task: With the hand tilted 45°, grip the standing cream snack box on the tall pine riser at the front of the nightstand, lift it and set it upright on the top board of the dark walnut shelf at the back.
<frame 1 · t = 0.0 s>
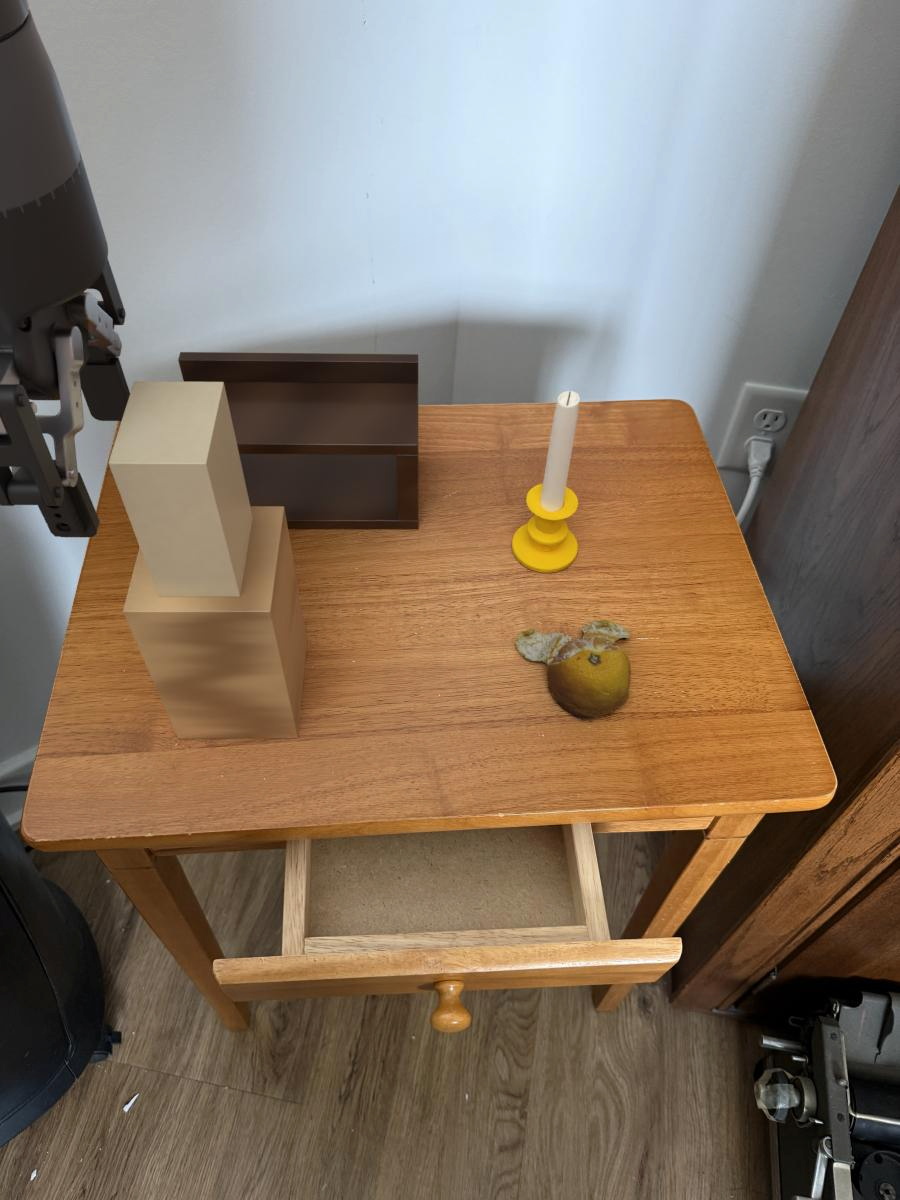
hand: (97, 471, 46), 20 cm above the table, tool pointing down, fingers open, 8 cm apart
fruit: (584, 665, 64), on the table
riser: (245, 688, 62), on the table
candle: (544, 550, 71), on the table
snack box: (207, 556, 51), point 14 cm above the table, touching riser
shelf: (309, 493, 74), on the table
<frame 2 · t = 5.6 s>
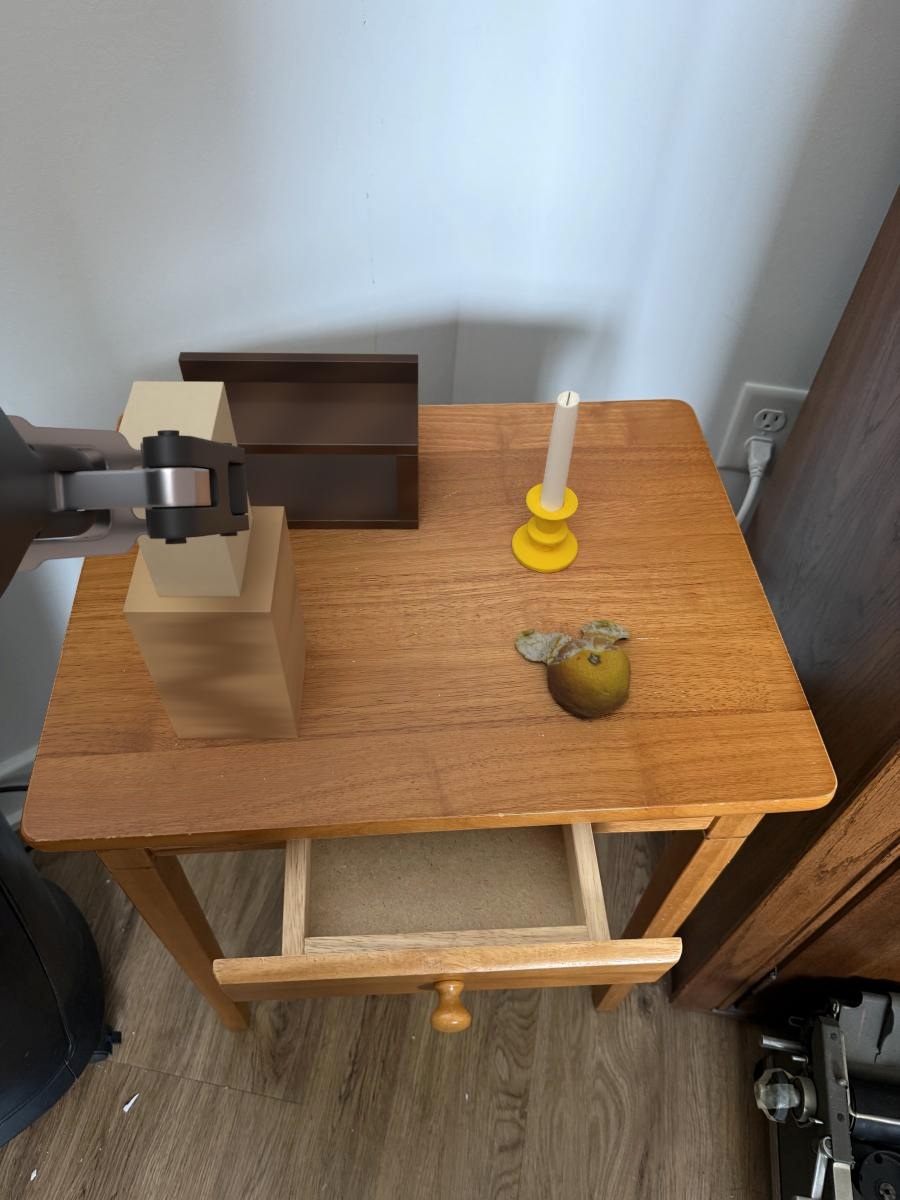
hand: (68, 498, 31), 30 cm above the table, tool tilted 45°, fingers open, 8 cm apart
nothing on the table moved.
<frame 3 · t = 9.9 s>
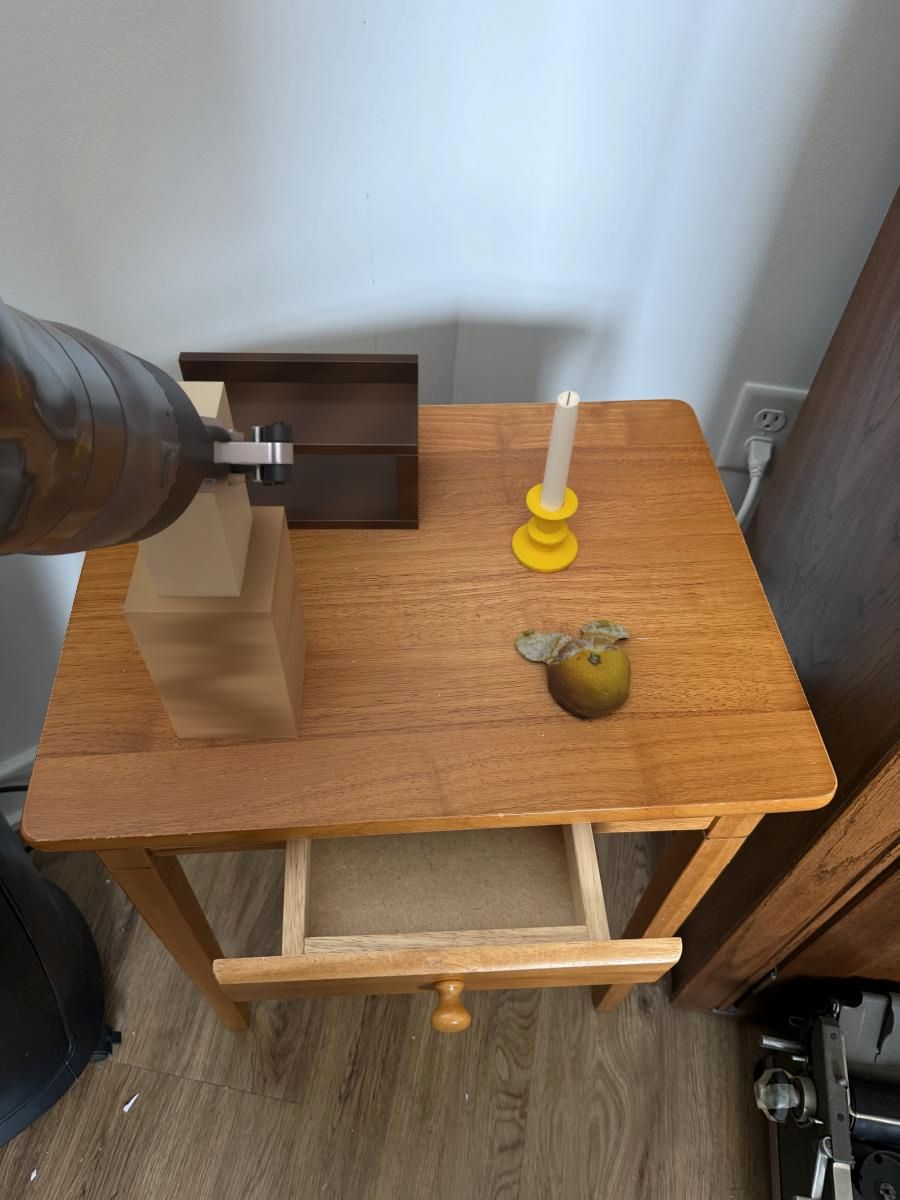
hand: (192, 460, 48), 20 cm above the table, tool tilted 45°, fingers closed on snack box, 4 cm apart
snack box: (207, 555, 51), point 14 cm above the table, touching gripper, riser
everything else where it was.
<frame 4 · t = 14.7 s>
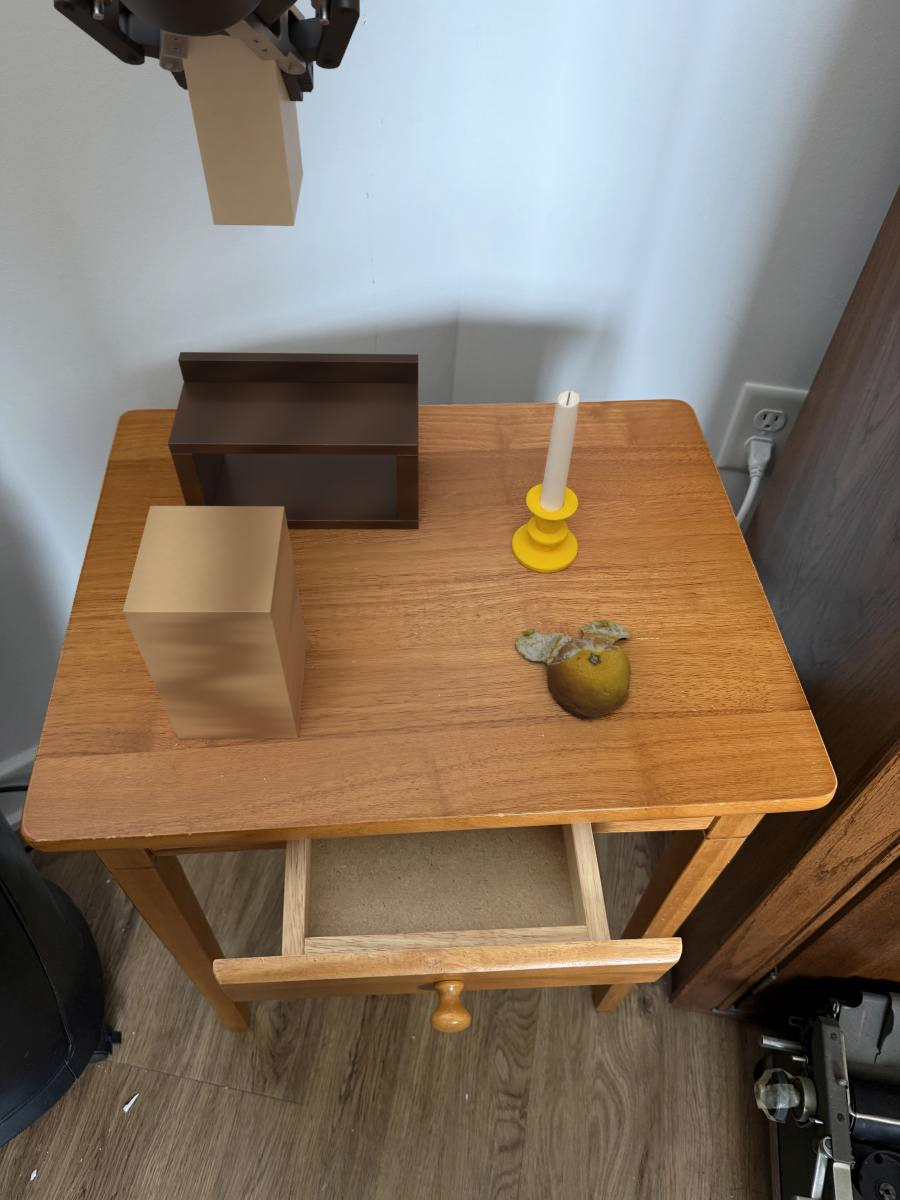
hand: (249, 81, 49), 32 cm above the table, tool tilted 45°, fingers closed on snack box, 4 cm apart
snack box: (260, 198, 52), point 26 cm above the table, touching gripper
everything else where it was.
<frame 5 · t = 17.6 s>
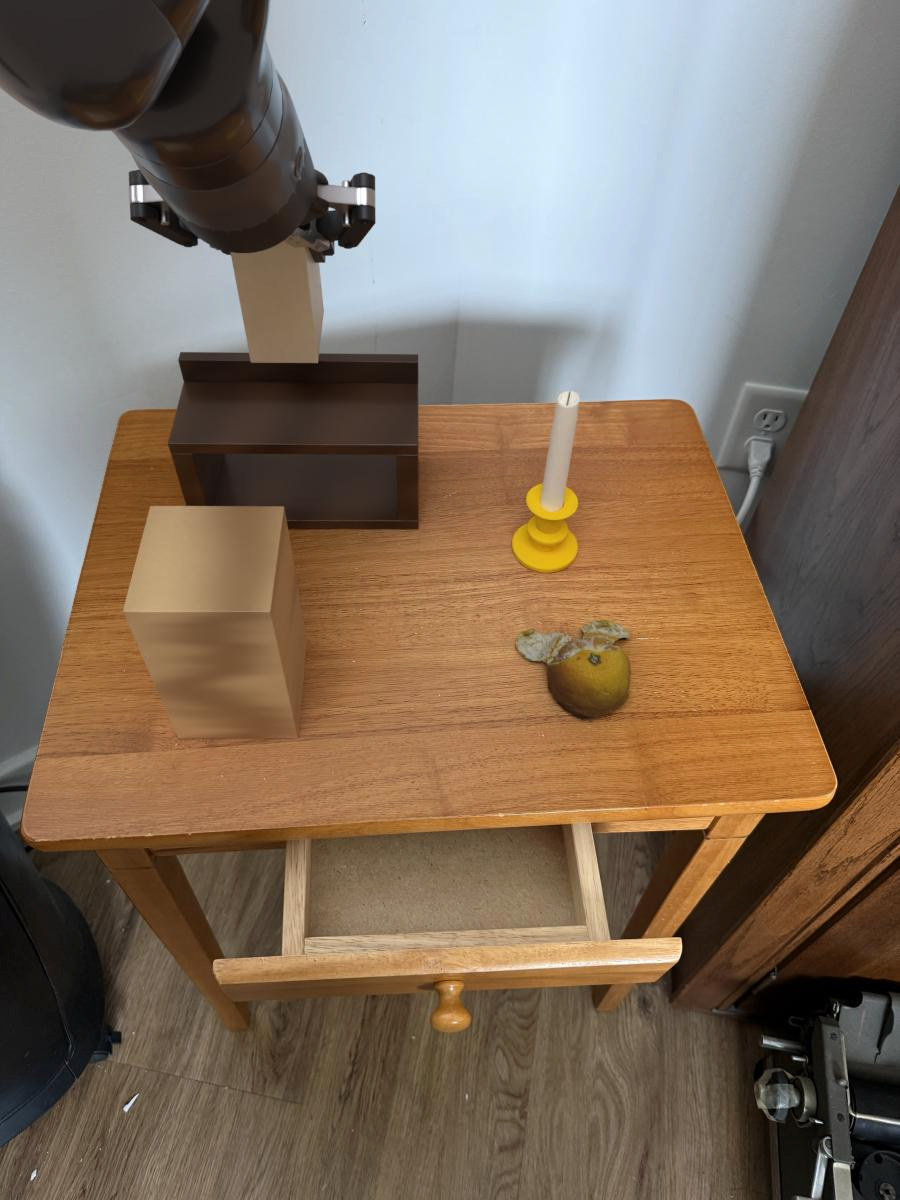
hand: (280, 246, 58), 21 cm above the table, tool tilted 45°, fingers closed on snack box, 4 cm apart
snack box: (288, 336, 62), point 15 cm above the table, touching gripper
everything else where it was.
when the fingers open (15 cm above the table, at t = 19.8 s): snack box stays where it is, resting on shelf.
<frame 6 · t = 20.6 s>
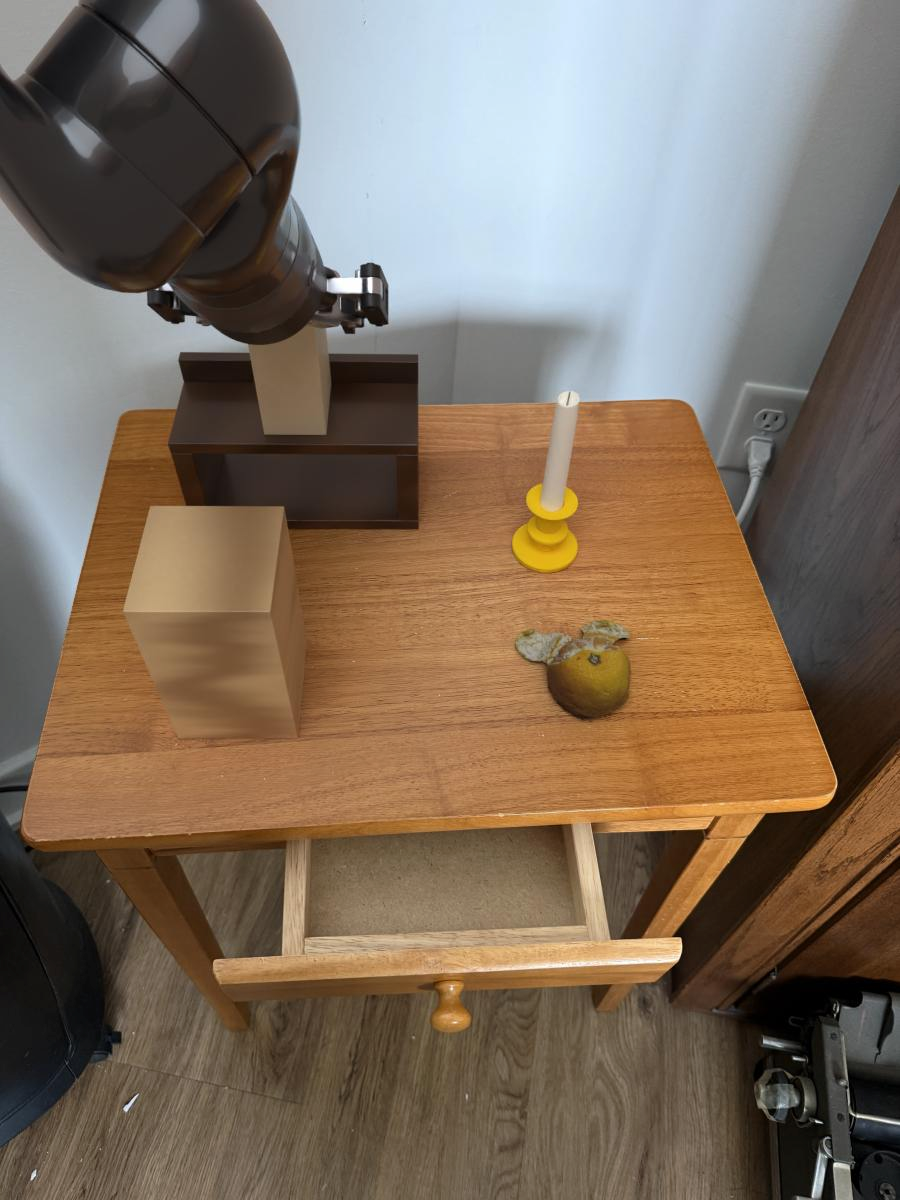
hand: (288, 318, 62), 16 cm above the table, tool tilted 45°, fingers open, 8 cm apart
snack box: (298, 408, 67), point 9 cm above the table, touching shelf
everything else where it was.
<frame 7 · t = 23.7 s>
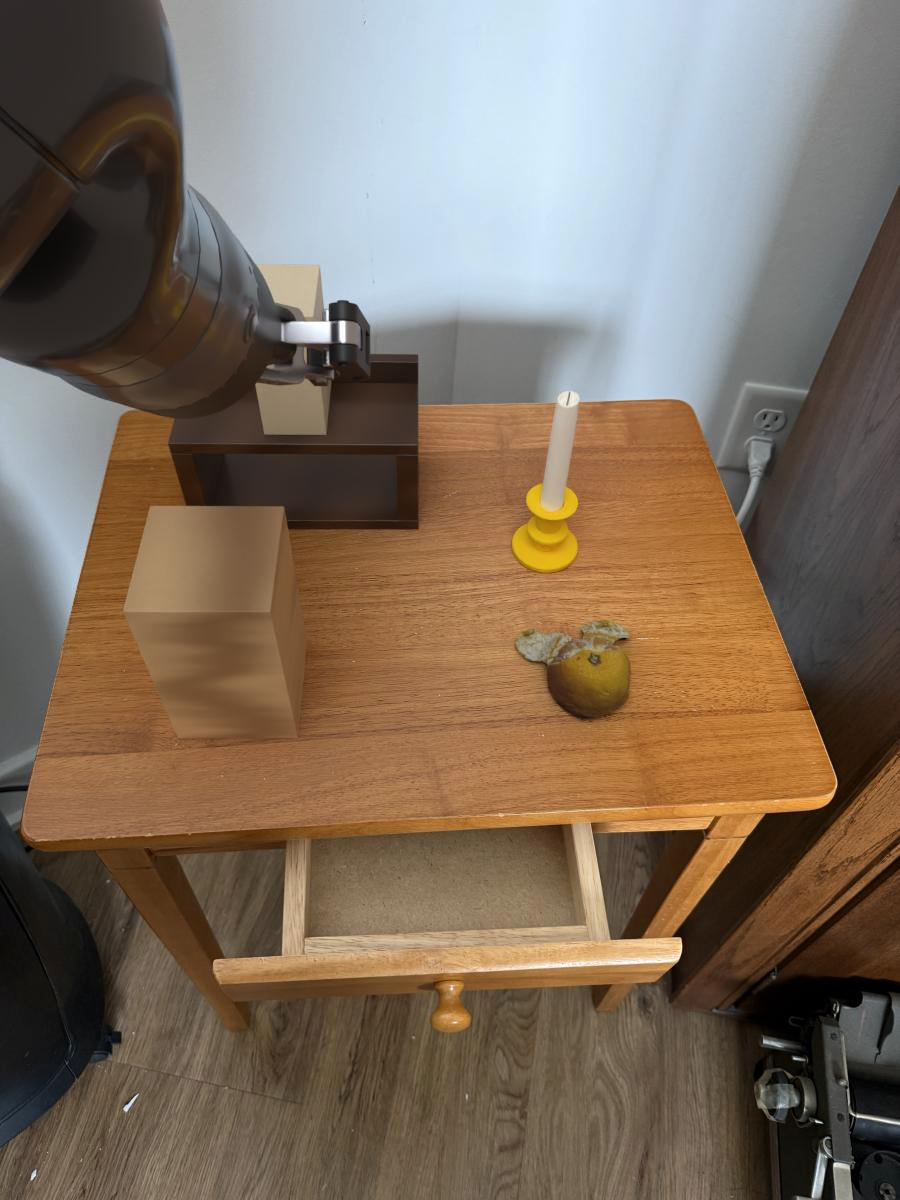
hand: (240, 365, 47), 23 cm above the table, tool tilted 45°, fingers open, 8 cm apart
nothing on the table moved.
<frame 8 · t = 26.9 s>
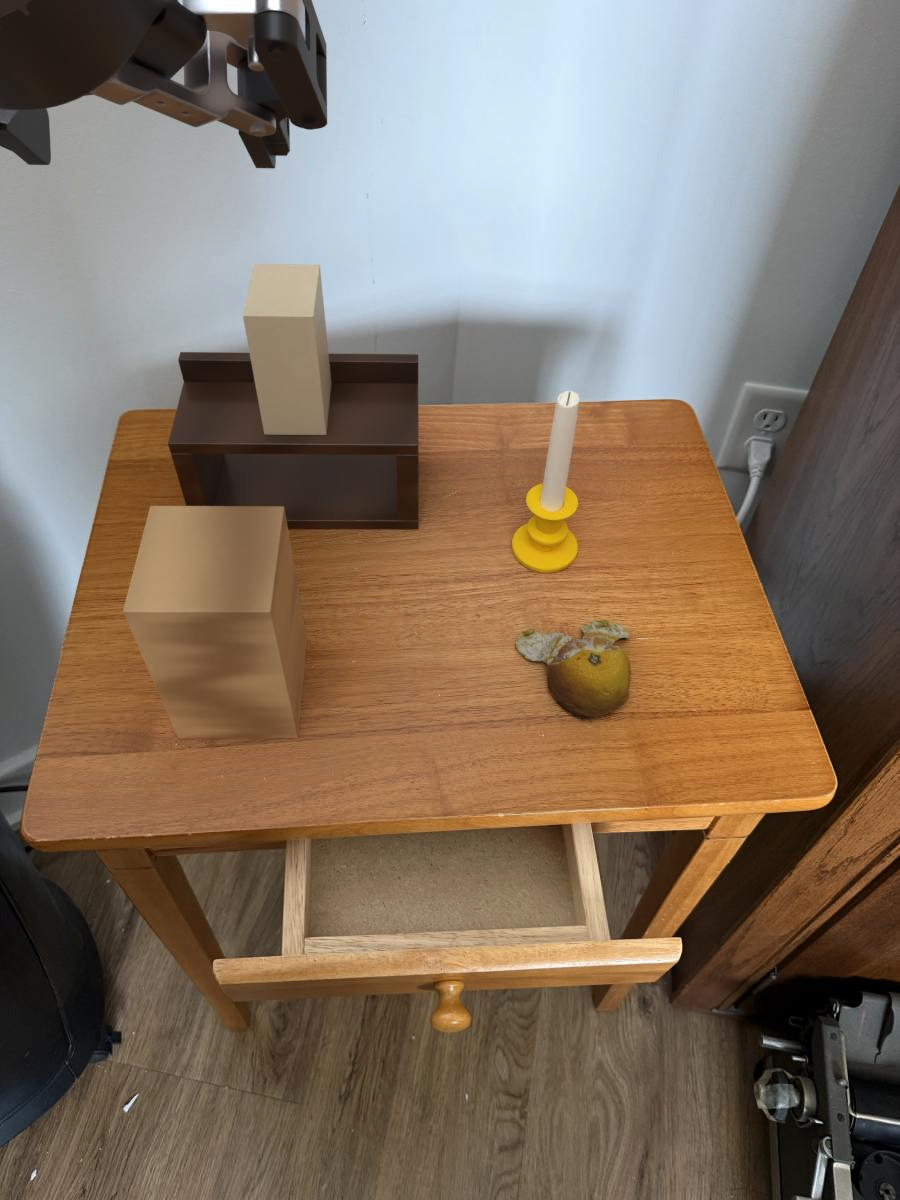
hand: (153, 140, 34), 37 cm above the table, tool tilted 45°, fingers open, 8 cm apart
nothing on the table moved.
at the end: snack box inside the target area on the shelf (0.1 cm from its centre), point 9.0 cm above the shelf's base; snack box tilted 0° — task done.
